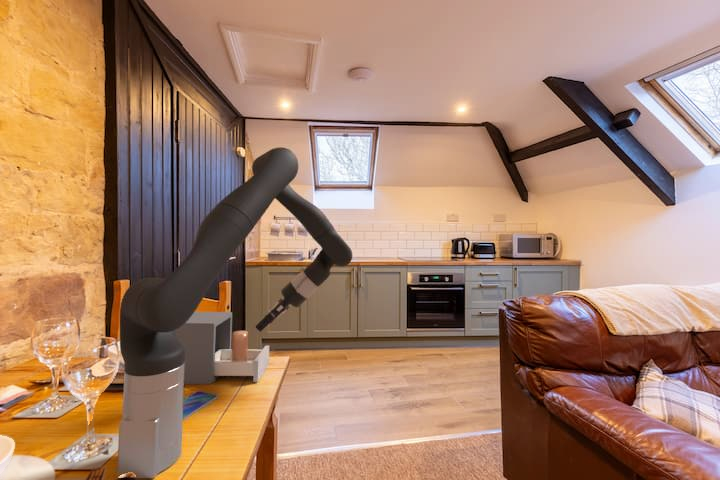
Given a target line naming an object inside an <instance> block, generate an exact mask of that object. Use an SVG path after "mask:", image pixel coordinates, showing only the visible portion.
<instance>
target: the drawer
mask: <svg viewBox="0 0 720 480" xmlns="http://www.w3.org/2000/svg"><path fill="white" fill-rule="evenodd" d="M231 350H232V348H231V349H219V350H218V351H217V352H216V353H215V365H214V376H219V377H220V376H221V377H224V376H225V377H230V376H231V377H237V376H238V377H252V379H253V381H252V382H253V383H258V382H259V380H261V377H262V376H263V373H264V372H265V371H266V369H267V367H268V366H269V364H270V361H269V360H270V345H267V344H266V345H265V346H264V347H263V348H262V349H252V348H250V349H248V354H247V362H233V361H231Z"/></svg>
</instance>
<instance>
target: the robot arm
mask: <svg viewBox="0 0 720 480" xmlns="http://www.w3.org/2000/svg"><path fill="white" fill-rule="evenodd" d="M251 171H252V176H251V177H250V178H249V179H248V180H246V181H244V183H242V184H240V185H239V186H238V187H237V188H234V190H232V191H231V192H229V193H228V194H227V195H226V196H224V198H222V199H221V200H220V201H219V202H218V203H217V204H216V205H215V206H214V207H213V208H212V209H211V210H210V212H209V213H208V214H207V215H206V216H205V217H204V218H203V220H202V221H201V223H200V225H199V227H198V230H197V233H196V236H195V240H194V242H193V246H192V248H191V249H190V251H189V253H188V255H187V256H186V257H185V258H184V260H183V261H182V262H181V263H180V264H179V265H178V266H177V267H176V268H175V269H174V270H173V271H172V272H171V273H170V274H169V275H168V276H167V277H166V278H162V277H161V278H160V277H144V278H142V279H139V280H137V281H135V282H133V283H132V284H131V285H130V286H129V287H128V288H127V289H126V291H125V292H124V294H123V296H122V299H121V302H120V306H119V307H120V308H119V349H120V354H121V357H122V359H123V363H124V365H123V366H124V369H123V371H124V375H123V376H124V377H123V394H122V395H123V397H122V419H121V421H120V422H119V424H118V448H117V470H116V471H117V472H116V473H117V474H116V478H117V477H119V476H120V475H122V474H125V473H128V472H133V473H134V474H135V475H136V478H135V479H154V478H156V477H157V475H159V473H161V472H163V471H165V470H166V469H168V468H170V467H171V466H172V465H173V464H175V463H176V462H177V461H178V459H180V457H181V454H182V450H183V449H182V447H183V422H184V420H183V399H184V391H185V389H184V388H185V384H184V370H185V348H184V346H183V345H182V343H181V342H180V341H179V340H178V338H177V336H176V333H175V330H176V329H178V328H179V327H181V326H182V325H183V324H185V323H186V322H187V321H188V320H189V318H190V317H191V316H192V315H193V313H194V312H196V310H197V308H198V307H199V305H200V304H201V302H202V301H203V299H204V297H205V295H206V294H207V293H208V291H209V289H210V288H211V286H212V284H213V283H214V281H215V280H216V278H217V277H218V275H219V274H220V272H221V271H222V270H223V268H224V267H225V266H226V265H227V263H228V261H229V260H230V259H231V257H232V256H233V255H234V254H235V252H236V251H237V250H238V248H239V247H240V246H241V245H242V244H243V243H244V242H245V240H246V238H248V237H249V235H250V234H251V232H252V231H253V229H254V228H255V226H256V225H257V224H258V222H260V220H261V218H262V217H263V216H264V214H265V213H266V212H267V210H268V209H269V208H270V206H271V205H272V203H273V201H274V200H277V202H279V203H280V204H281V205H282V206H283V207H284V208H285V209H286V210H287V211H288V212H289V213H291V215H292V216H293V217H294V218H296V220H297V221H298V222H299V223H300V224H301V225H302V226H303V228H304V229H305V230H306V231H307V233H308V234H309V235H310V236H311V238H312V239H313V240H314V241H315V242H316V243H317V244H318V245H319V246H320V247H321V249H320V251H319V252H318V254H317V255H316V256H315V259H314V260H313V261H312V262H310V263H309V265H307V266H306V267H305V268H304V269H303V270H302V271H301V272H299V273H298V274H297V275H296V276H294V277H293V279H292V280H290V281H289V282H288V283H287V284H286V285H285V286H284V287H282V289H281V290H280V293H281V295H282V296H283V299H282V298H280V299H279V300H277V301H276V302H275V303H274V305H273V307H271V308H270V309H269V313H267V314H265V315H264V318H262V320H260V321H259V322H258V323H257V324H256V325H255V328H256V330H257V331H258V332H262V331H264V329H265V328H266V327H268V325H269V324H271V323H273V322H274V320H276V319H278V318H280V317H281V316H282V314H284V313H286V312H287V311H288V309H289V308H290V306H289V305H291V306H292V307H294V308H299V307H301V305H302V304H303V303H305V301H307V299H309V297H311V296H312V295H313V294H314V293H315V292H316V290H317V289H318V288H319V287H320V286H321V285H322V284H323V283H324V282H325V281H326V280H327V279H328V278H329V277H330V276H331V269H332V268H333V266H337V267H341V268H343V267H347V265H349V264H350V263H351V262H352V259H353V252H352V249H351V248H350V246H349V245H348V243H347V242H346V241H345V240H344V239H343V237H341V235H340V234H339V233H338V232H337V231H336V229H335V227H334V226H333V224H332V223H331V222H330V220H329V219H328V217H327V216H326V214H324V212H323V211H322V210H321V209H320V208H319V207H318V206H316V205H314V203H312V202H310V201H308V200H307V199H306V198H304V197H302V196H301V195H300V194H299V193H298V192H296V191H295V190H294V189H293V188H292V187H291V185H290V184H291V182H293V181H294V179H295V178H296V177H297V175H298V171H299V162H298V158H297V156H296V154H295V153H294V152H293V151H292V150H291V149H289V148H286V147H282V146H281V147H279V146H277V147H274V148H272V149H269V150H268V151H266V152H265V153H263V154H261V155H260V156H258V157H256V158H255V159H254V160H253V163H252V165H251Z"/></svg>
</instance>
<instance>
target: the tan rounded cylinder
mask: <svg viewBox="0 0 720 480" xmlns="http://www.w3.org/2000/svg"><path fill="white" fill-rule="evenodd" d="M248 346H249V331H247V330H236V331H232V336H231V349H232V350H231V361H233V362H247V354H248V348H249V347H248Z"/></svg>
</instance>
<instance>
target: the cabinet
mask: <svg viewBox="0 0 720 480" xmlns="http://www.w3.org/2000/svg"><path fill="white" fill-rule="evenodd" d="M232 325H233V312H232V311H195V312H194V313H193V315H192V316H191V317H190V318H189V320H188V321H187V322H186V323H185V324H183V325H182V326H181V327H179V328H178V329H176V330H175V333H176V336H177V338H178V340H179V341H180V342H181V343H182V345H183V346H184V348H185V370H184V385H185V384H186V385H191V384H192V385H194V384H195V385H202V384H203V385H213V384H214V382H216V381H217V379H218V378H219V377H220V376H214V365H215V353H216V352H217V351H218V350H219V349H232V333H233V331H232V330H233V329H232V328H233V326H232Z"/></svg>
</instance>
